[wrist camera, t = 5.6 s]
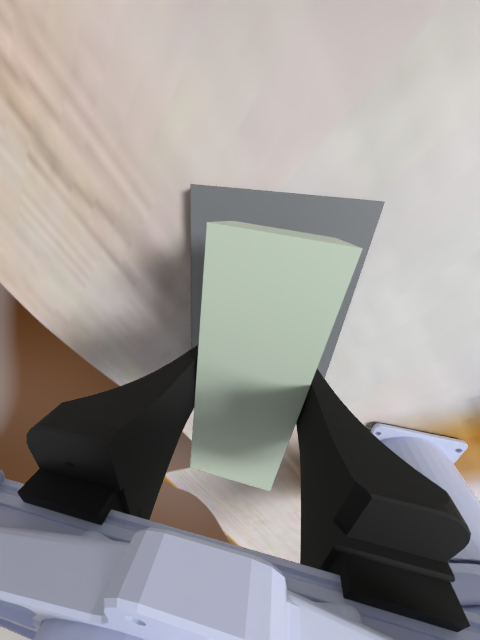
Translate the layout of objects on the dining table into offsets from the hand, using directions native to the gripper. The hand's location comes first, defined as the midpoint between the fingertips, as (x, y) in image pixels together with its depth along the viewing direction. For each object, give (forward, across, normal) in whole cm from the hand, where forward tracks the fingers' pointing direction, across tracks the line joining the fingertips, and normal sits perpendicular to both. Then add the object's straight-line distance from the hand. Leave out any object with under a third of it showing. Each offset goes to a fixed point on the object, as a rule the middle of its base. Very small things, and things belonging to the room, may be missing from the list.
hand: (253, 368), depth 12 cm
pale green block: (+2, 0, 0) cm, 2 cm away
